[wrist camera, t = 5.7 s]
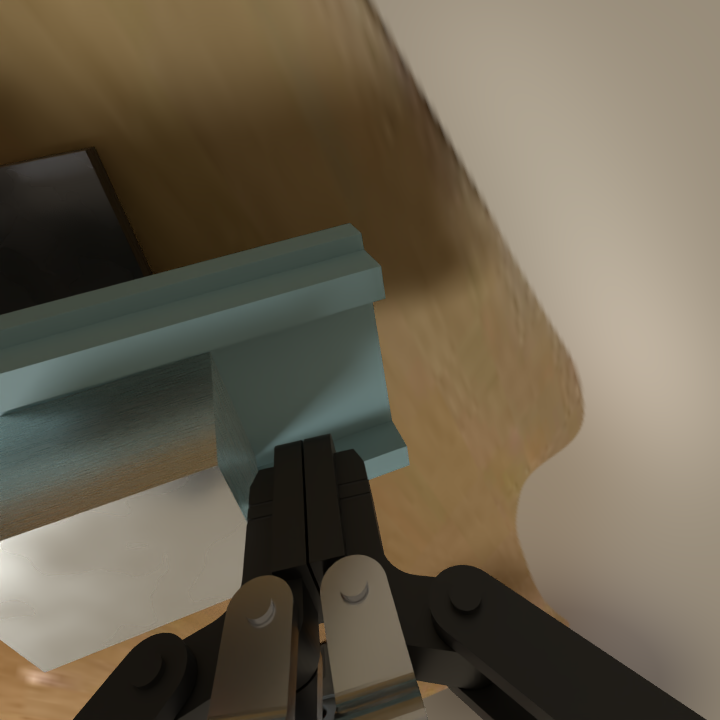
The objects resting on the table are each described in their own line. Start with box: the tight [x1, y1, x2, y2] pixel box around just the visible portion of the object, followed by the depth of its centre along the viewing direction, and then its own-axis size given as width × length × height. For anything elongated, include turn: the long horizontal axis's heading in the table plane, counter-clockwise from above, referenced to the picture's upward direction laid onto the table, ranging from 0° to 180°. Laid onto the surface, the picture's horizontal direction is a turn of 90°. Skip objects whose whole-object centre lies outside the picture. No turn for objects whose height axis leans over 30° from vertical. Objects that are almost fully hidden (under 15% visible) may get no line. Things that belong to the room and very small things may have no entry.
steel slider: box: [0, 352, 258, 672], centre depth 12 cm, size 5×6×5 cm
